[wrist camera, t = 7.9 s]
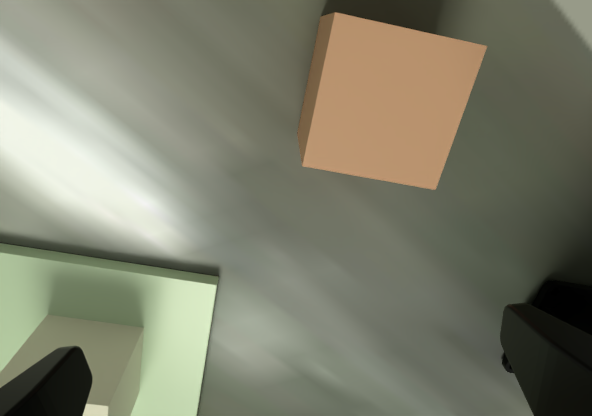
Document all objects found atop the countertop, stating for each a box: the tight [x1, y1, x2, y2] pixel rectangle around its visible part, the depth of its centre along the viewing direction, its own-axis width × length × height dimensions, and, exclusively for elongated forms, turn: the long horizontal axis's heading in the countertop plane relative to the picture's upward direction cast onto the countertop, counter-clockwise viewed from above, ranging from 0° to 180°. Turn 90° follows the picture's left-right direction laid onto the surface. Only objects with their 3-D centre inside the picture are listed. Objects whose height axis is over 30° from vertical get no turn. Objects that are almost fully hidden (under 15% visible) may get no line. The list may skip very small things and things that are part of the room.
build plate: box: [0, 243, 219, 416], centre depth 23 cm, size 12×12×1 cm
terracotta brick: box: [297, 12, 487, 190], centre depth 16 cm, size 5×5×5 cm
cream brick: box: [0, 314, 144, 416], centre depth 20 cm, size 5×5×5 cm
